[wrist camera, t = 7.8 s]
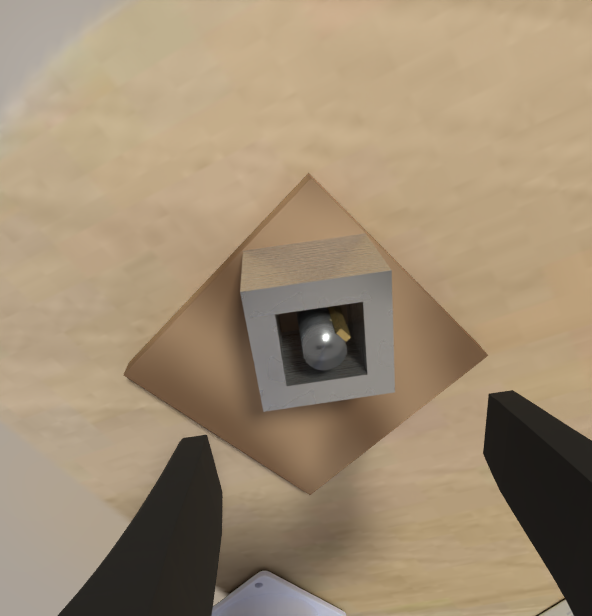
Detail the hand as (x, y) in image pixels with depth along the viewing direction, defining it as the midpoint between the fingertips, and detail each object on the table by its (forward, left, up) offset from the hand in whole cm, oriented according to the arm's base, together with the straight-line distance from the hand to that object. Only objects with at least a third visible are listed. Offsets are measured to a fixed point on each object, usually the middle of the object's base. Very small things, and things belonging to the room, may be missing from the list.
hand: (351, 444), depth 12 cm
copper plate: (-2, -2, -10) cm, 11 cm away
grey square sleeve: (0, 0, -9) cm, 9 cm away
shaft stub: (0, 0, -10) cm, 10 cm away
